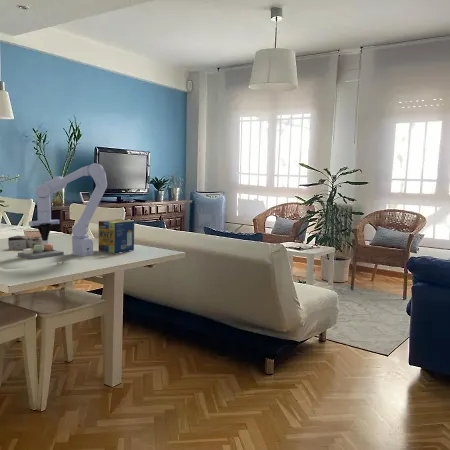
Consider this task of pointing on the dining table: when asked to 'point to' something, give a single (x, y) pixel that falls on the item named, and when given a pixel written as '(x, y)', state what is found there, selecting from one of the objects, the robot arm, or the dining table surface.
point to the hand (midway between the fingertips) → (44, 240)
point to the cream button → (27, 251)
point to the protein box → (116, 236)
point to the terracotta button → (48, 247)
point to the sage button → (38, 248)
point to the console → (41, 254)
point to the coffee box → (25, 242)
